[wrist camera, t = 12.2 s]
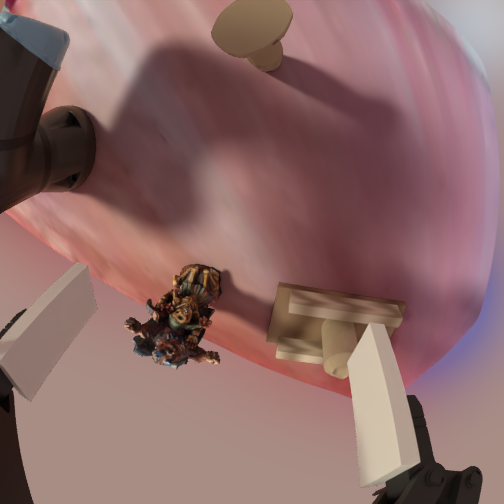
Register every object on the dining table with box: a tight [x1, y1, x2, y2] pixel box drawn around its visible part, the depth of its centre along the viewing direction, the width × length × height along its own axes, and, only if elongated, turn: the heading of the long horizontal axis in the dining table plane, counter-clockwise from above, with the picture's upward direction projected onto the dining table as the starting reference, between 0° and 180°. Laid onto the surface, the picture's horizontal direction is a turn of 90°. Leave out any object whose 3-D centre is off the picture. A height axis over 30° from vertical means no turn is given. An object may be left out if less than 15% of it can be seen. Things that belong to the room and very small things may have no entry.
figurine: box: [124, 264, 222, 369], centre depth 36 cm, size 11×9×18 cm
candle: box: [321, 319, 358, 379], centre depth 38 cm, size 6×6×10 cm
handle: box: [211, 0, 293, 72], centre depth 21 cm, size 5×6×15 cm
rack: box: [266, 282, 407, 364], centre depth 42 cm, size 22×12×5 cm, turn 83°
